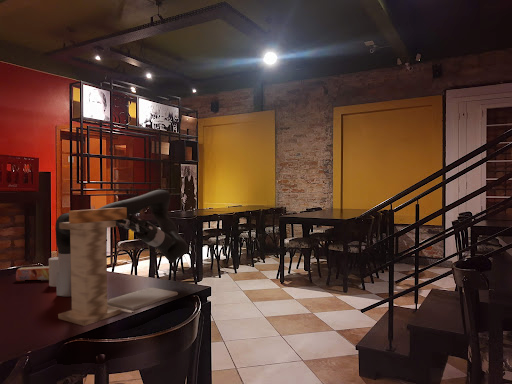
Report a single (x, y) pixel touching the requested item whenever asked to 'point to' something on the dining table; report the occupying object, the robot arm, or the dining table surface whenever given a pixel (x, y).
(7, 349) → the dining table surface
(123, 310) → the line
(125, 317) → the dining table surface
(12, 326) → the dining table surface
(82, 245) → the stand
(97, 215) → the bar
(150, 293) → the mat
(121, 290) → the dining table surface
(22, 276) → the snack package
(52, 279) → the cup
